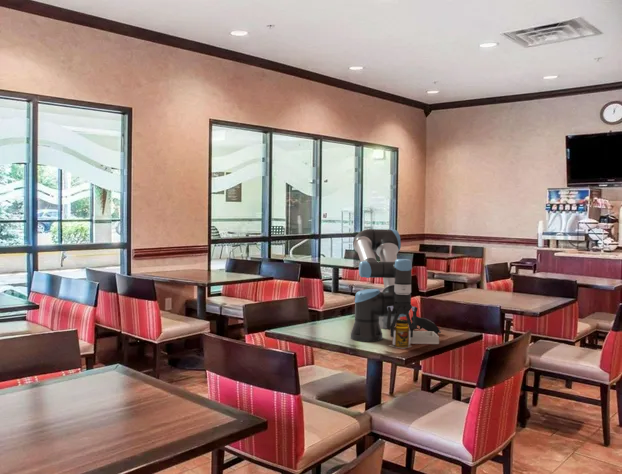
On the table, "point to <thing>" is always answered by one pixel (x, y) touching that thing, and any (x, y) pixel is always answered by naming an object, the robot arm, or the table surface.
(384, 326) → the circuit breaker
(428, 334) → the tray
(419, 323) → the gun
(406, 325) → the condiment
